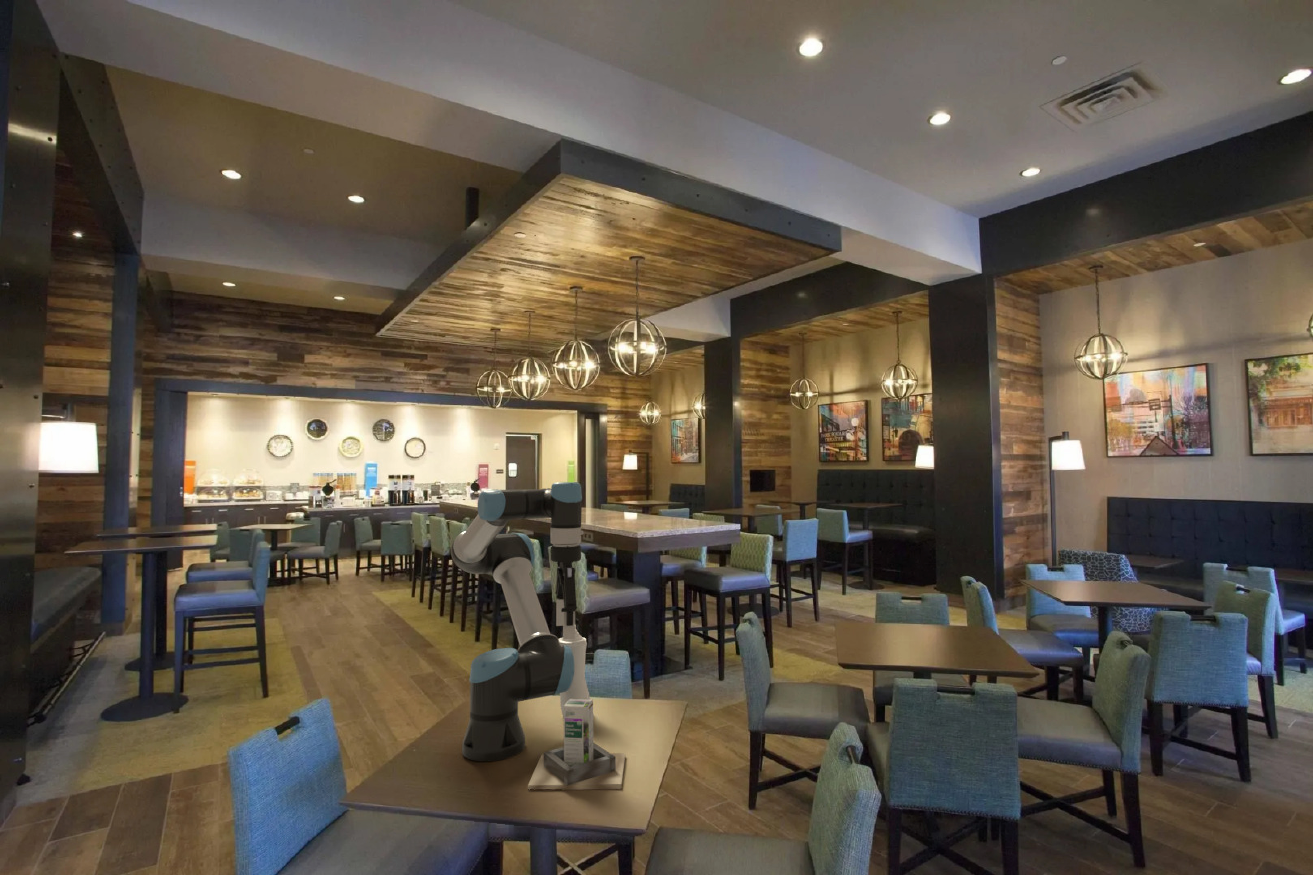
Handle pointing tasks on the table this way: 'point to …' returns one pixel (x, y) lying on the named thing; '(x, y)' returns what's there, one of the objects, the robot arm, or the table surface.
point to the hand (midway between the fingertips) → (565, 631)
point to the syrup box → (578, 731)
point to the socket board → (587, 784)
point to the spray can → (576, 670)
